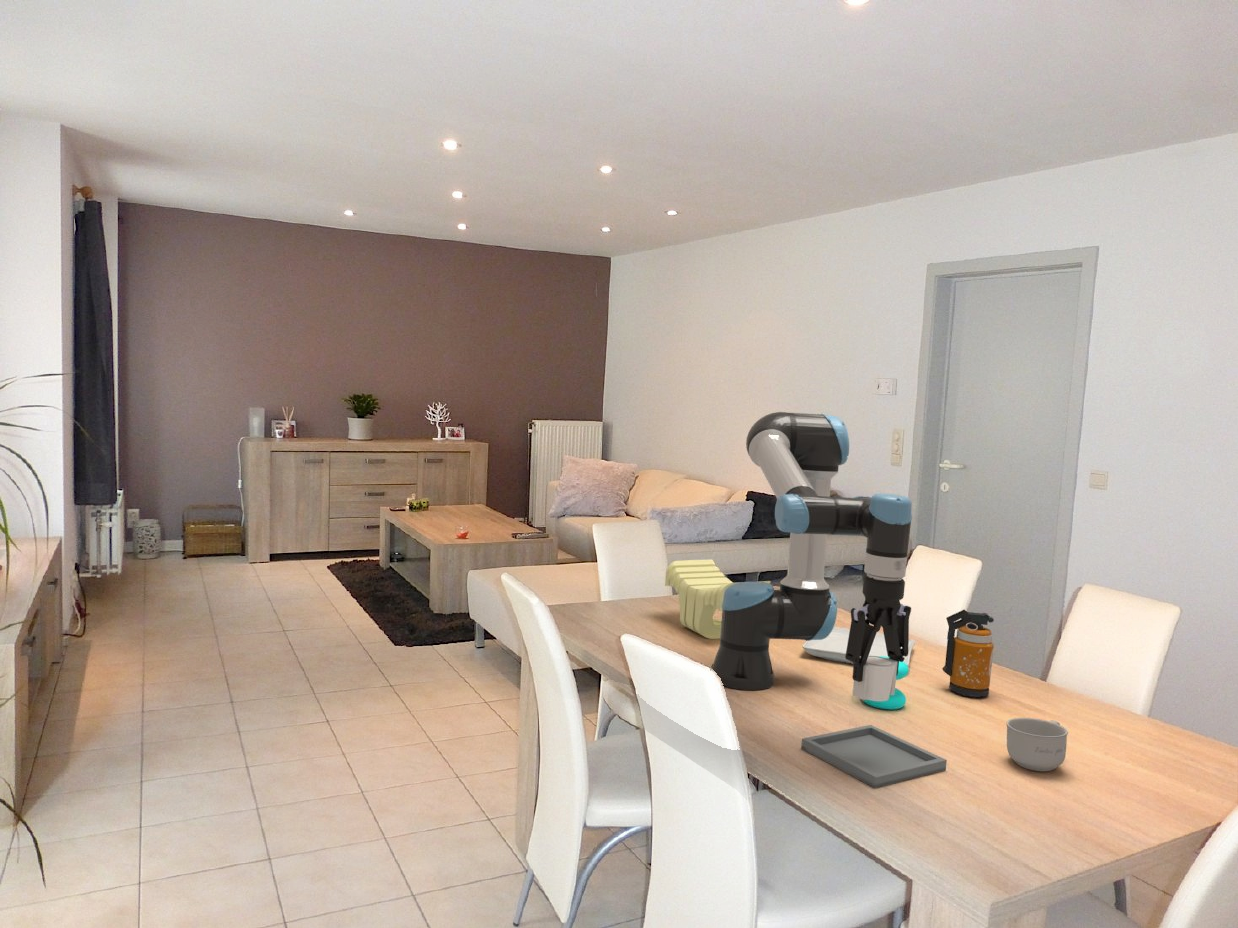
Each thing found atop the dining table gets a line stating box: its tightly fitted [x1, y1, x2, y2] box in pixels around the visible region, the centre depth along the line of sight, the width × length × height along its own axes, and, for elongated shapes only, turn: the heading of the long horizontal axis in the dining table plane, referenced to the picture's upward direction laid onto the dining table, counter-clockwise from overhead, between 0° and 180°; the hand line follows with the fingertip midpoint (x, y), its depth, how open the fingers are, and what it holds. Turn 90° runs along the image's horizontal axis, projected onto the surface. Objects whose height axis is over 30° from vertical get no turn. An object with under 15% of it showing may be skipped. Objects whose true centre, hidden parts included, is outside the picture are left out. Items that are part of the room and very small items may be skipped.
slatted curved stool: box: [664, 558, 771, 640], centre depth 258 cm, size 30×16×18 cm, turn 26°
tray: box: [800, 724, 948, 789], centre depth 173 cm, size 19×19×2 cm
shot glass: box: [860, 656, 895, 701], centre depth 172 cm, size 7×7×7 cm
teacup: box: [1006, 717, 1069, 772], centre depth 176 cm, size 14×11×8 cm
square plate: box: [802, 626, 916, 667], centre depth 245 cm, size 27×27×4 cm
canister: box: [941, 609, 995, 698], centre depth 217 cm, size 9×11×20 cm
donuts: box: [862, 656, 910, 710], centre depth 206 cm, size 10×10×10 cm
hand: (873, 694), depth 172 cm, fingers closed on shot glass, 7 cm apart
